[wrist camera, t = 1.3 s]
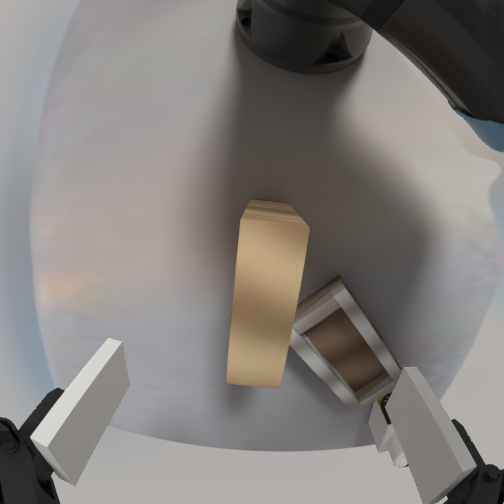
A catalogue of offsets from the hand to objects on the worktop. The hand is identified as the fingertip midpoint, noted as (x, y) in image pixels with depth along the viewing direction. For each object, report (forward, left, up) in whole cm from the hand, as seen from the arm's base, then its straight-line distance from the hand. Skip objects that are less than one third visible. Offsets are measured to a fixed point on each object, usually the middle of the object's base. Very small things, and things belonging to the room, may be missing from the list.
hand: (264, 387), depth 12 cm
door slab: (0, 0, -21) cm, 21 cm away
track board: (+6, +15, -21) cm, 26 cm away
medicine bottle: (+13, +30, -21) cm, 39 cm away
